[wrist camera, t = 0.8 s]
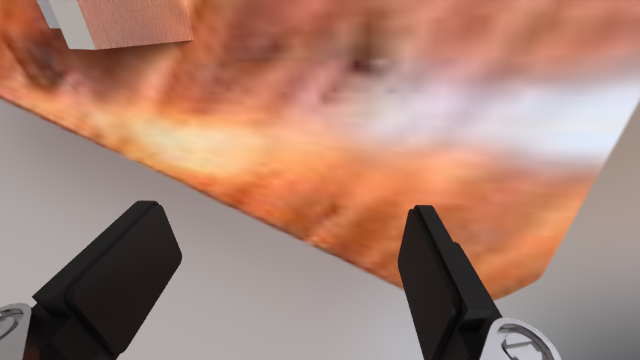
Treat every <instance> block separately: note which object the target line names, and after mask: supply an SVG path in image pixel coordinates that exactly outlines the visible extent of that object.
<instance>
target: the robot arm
mask: <svg viewBox="0 0 640 360" xmlns="http://www.w3.org/2000/svg"><path fill="white" fill-rule="evenodd" d="M181 260H182V253H181V251H180V248H179V246H178V243H177V241H176V238H175V236H174V233H173V231H172V229H171V226H170V224H169V221H168V219H167V216H166V214H165V211H164V209H163V207H162V206H161V205H159V204H158V202H156V201H137V202H136V203H134V204H133V205H132V206H131V207H130V208H129V209H128V210H127V211H125V212H124V213H123V214H122V215H121V216H120V217H119V218H118V219H117V220H116V221H115V222H113V223H112V224H111V225H110V226H109V227H108V228H107V229H106V230H105V231H104V232H102V233H101V234H100V235H99V236H98V237H97V238H96V239H95V240H94V241H92V242H91V243H90V244H89V245H88V246H87V247H86V248H85V249H84V250H83V251H81V253H79V254H78V255H77V256H76V257H75V258H74V259H73V260H72V261H70V262H69V263H68V264H67V265H66V266H65V267H64V268H63V269H62V270H61V271H60V272H58V273H57V274H56V275H55V276H54V277H53V278H52V279H51V280H50V281H48V282H47V283H46V284H45V285H44V286H43V287H42V288H41V289H40V290H39V291H38V292H36V293H35V294H34V295H33V296H32V297H33V299H34V300H35V301H36V302H37V304H36V305H35V306H34V307H33V308H31V307H30V306H29V305H27V304H24V303H16V304H10V305H7V306H4V307H1V308H0V360H116V359H117V357H118V356H119V354H121V353H123V352H124V351H125V350H126V349H127V347H128V346H129V344H130V343H131V341H132V339H133V338H134V336H135V335H136V333H137V332H138V330H139V328H140V327H141V325H142V324H143V322H144V320H145V319H146V317H147V315H148V314H149V312H150V311H151V309H152V308H153V306H154V304H155V303H156V301H157V300H158V298H159V297H160V295H161V293H162V292H163V290H164V289H165V287H166V285H167V284H168V282H169V281H170V279H171V277H172V275H173V274H174V273H175V271H176V269H177V268H178V266H179V265H180V263H181ZM398 268H399V272H400V276H401V279H402V283H403V286H404V290H405V293H406V297H407V300H408V303H409V308H410V311H411V315H412V318H413V322H414V325H415V329H416V332H417V336H418V339H419V343H420V346H421V350H422V354H423V357H424V360H561V358H560V356H559V354H558V351H557V350H556V348H555V347H554V346H553V345H552V344H551V342H550V341H549V340H548V339H547V338H546V337H545V336H544V335H543V334H542V333H541V332H540V331H538V330H537V329H535V328H534V327H532V326H531V325H529V324H527V323H525V322H522V321H520V320H517V319H513V318H503V317H502V316H501V314H500V312H499V310H498V309H497V307H496V305H495V304H494V302H493V300H492V298H491V297H490V295H489V293H488V292H487V290H486V288H485V287H484V285H483V283H482V282H481V280H480V278H479V276H478V275H477V273H476V271H475V270H474V268H473V266H472V265H471V263H470V261H469V260H468V258H467V256H466V255H465V253H464V251H463V249H462V248H461V246H460V245H459V244H458V243H456V242H453V241H452V239H451V237H450V235H449V234H448V232H447V230H446V228H445V227H444V225H443V223H442V221H441V219H440V218H439V216H438V214H437V212H436V211H435V209H434V207H433V206H431V205H416V206H415V207H414V209H410V210H409V212H408V217H407V221H406V225H405V230H404V234H403V239H402V243H401V248H400V252H399V257H398Z"/></svg>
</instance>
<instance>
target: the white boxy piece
mask: <svg viewBox="0 0 640 360" xmlns="http://www.w3.org/2000/svg"><path fill="white" fill-rule="evenodd" d="M37 1H38V4H39V6H40V8H41V10H42V13H43V15H44V17H45V19H46V21H47V24H48V26H49V28H61V31H62V33H63V35H64V38H65V40H66V42H67V45H68V47H69V49H90V50H98V49H108V48H118V47H128V46H138V45H148V44H158V43H169V42H179V41H189V40H194V37H193V32H192V27H191V22H190V18H189V13H188V8H187V3H186V0H37Z"/></svg>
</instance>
